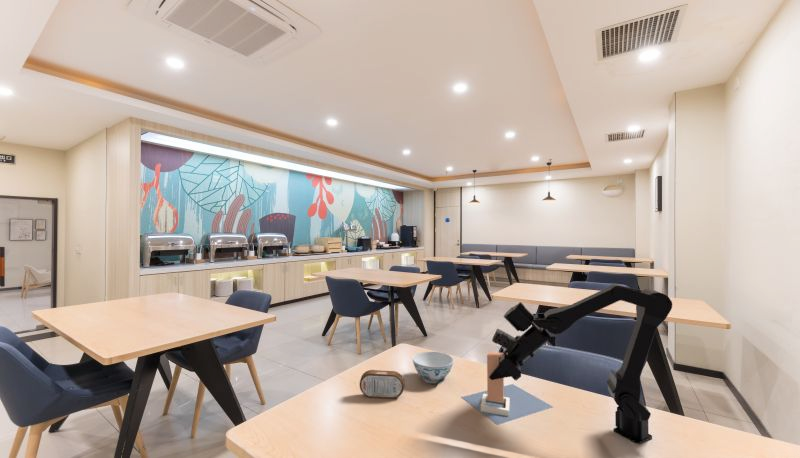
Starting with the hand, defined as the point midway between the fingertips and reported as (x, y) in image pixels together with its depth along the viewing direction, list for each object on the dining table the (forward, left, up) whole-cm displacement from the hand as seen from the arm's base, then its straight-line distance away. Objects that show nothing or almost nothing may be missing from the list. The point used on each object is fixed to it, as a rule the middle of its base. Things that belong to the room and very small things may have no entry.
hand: (490, 375), depth 101 cm
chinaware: (+26, +5, -11) cm, 29 cm away
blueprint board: (0, -6, -11) cm, 12 cm away
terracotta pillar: (-1, -1, -7) cm, 7 cm away
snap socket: (-1, -1, -9) cm, 9 cm away
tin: (+22, +27, -11) cm, 37 cm away
